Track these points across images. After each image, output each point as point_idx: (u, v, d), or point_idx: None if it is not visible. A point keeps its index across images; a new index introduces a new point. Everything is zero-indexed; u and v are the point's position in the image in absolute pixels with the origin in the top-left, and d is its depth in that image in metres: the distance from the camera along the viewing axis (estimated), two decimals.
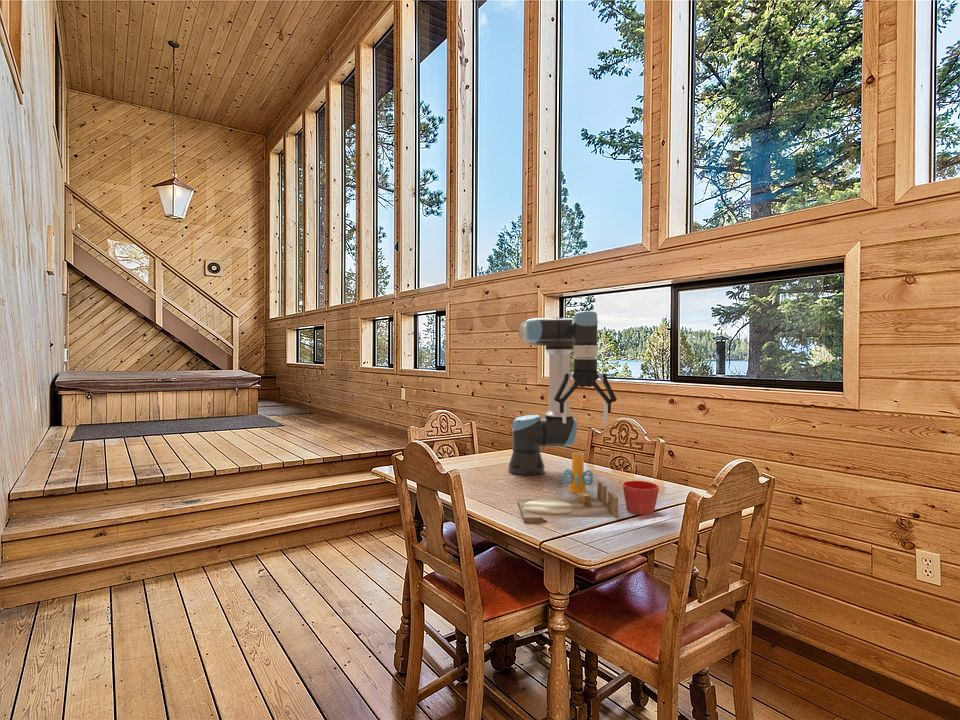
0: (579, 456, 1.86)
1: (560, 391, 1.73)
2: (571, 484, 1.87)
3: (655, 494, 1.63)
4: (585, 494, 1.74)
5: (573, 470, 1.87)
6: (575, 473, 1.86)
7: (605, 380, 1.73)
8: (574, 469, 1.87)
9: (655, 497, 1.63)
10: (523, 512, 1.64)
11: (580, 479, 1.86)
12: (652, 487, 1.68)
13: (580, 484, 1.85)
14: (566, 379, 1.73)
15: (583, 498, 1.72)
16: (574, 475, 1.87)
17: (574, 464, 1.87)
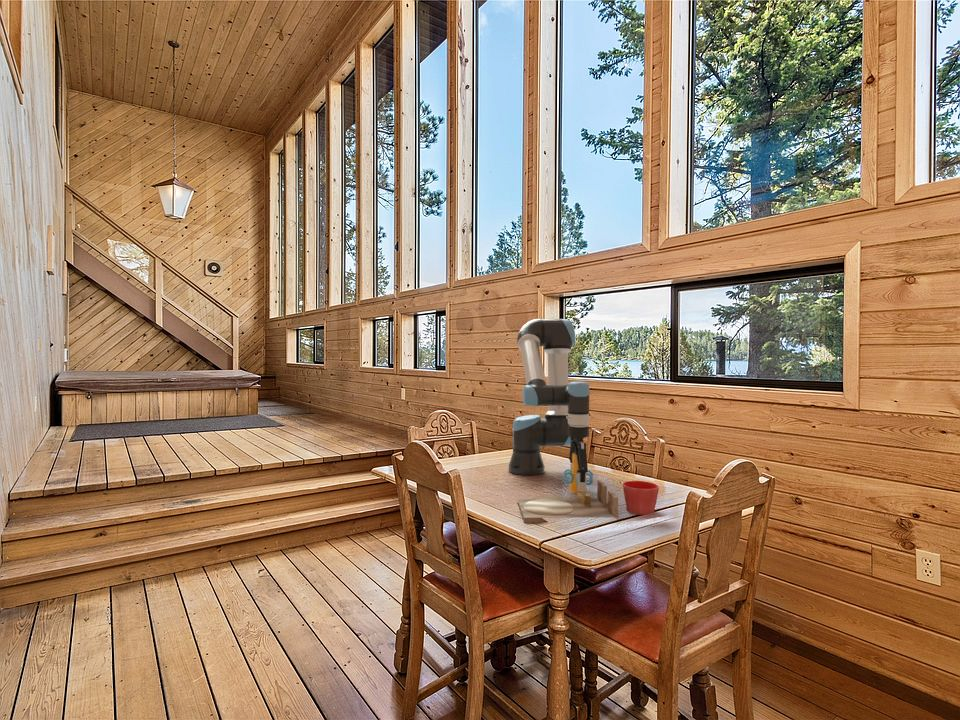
0: None
1: (570, 451, 1.96)
2: (571, 484, 1.87)
3: (655, 494, 1.63)
4: (585, 494, 1.74)
5: (573, 470, 1.87)
6: (575, 473, 1.86)
7: (578, 449, 1.81)
8: (574, 469, 1.86)
9: (655, 497, 1.63)
10: (523, 512, 1.64)
11: None
12: (652, 487, 1.68)
13: None
14: (571, 441, 1.94)
15: (583, 498, 1.72)
16: (574, 475, 1.87)
17: (574, 464, 1.87)
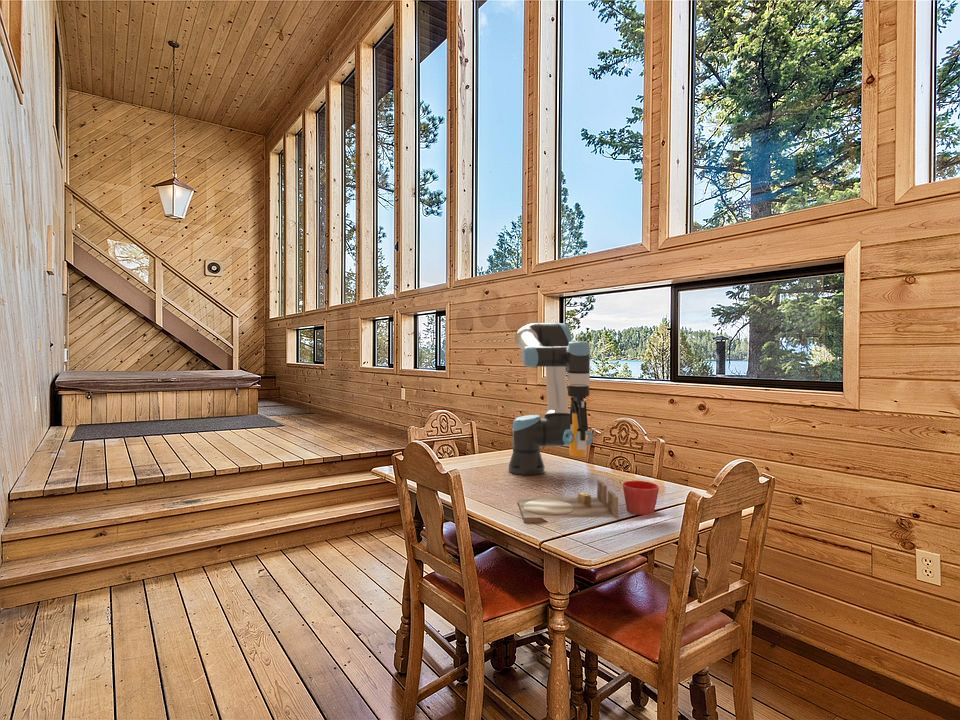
0: None
1: (570, 412, 1.95)
2: (571, 444, 1.87)
3: (655, 494, 1.63)
4: (585, 494, 1.74)
5: (573, 430, 1.87)
6: (575, 433, 1.86)
7: (578, 408, 1.81)
8: (574, 429, 1.86)
9: (655, 497, 1.63)
10: (523, 512, 1.64)
11: None
12: (652, 487, 1.68)
13: None
14: (571, 402, 1.94)
15: (583, 498, 1.72)
16: (574, 435, 1.86)
17: (574, 424, 1.86)
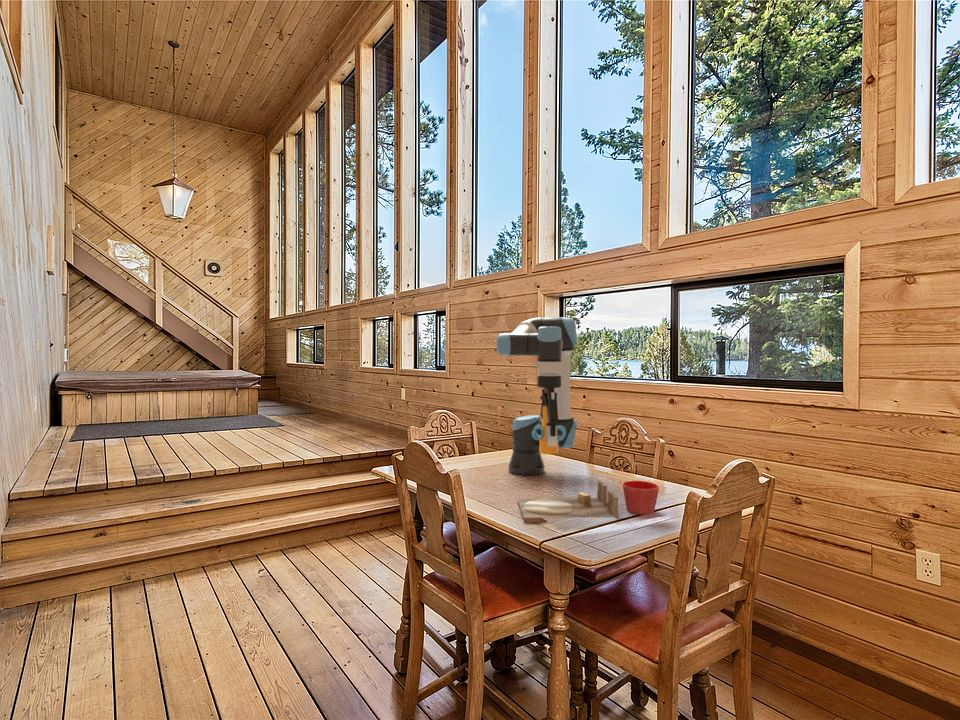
0: None
1: (541, 406, 1.77)
2: (541, 440, 1.68)
3: (655, 494, 1.63)
4: (585, 494, 1.74)
5: (544, 424, 1.68)
6: (546, 428, 1.67)
7: (548, 400, 1.62)
8: (545, 423, 1.68)
9: (655, 497, 1.63)
10: (523, 512, 1.64)
11: None
12: (652, 487, 1.68)
13: None
14: None
15: (583, 498, 1.72)
16: (545, 430, 1.68)
17: (545, 418, 1.68)
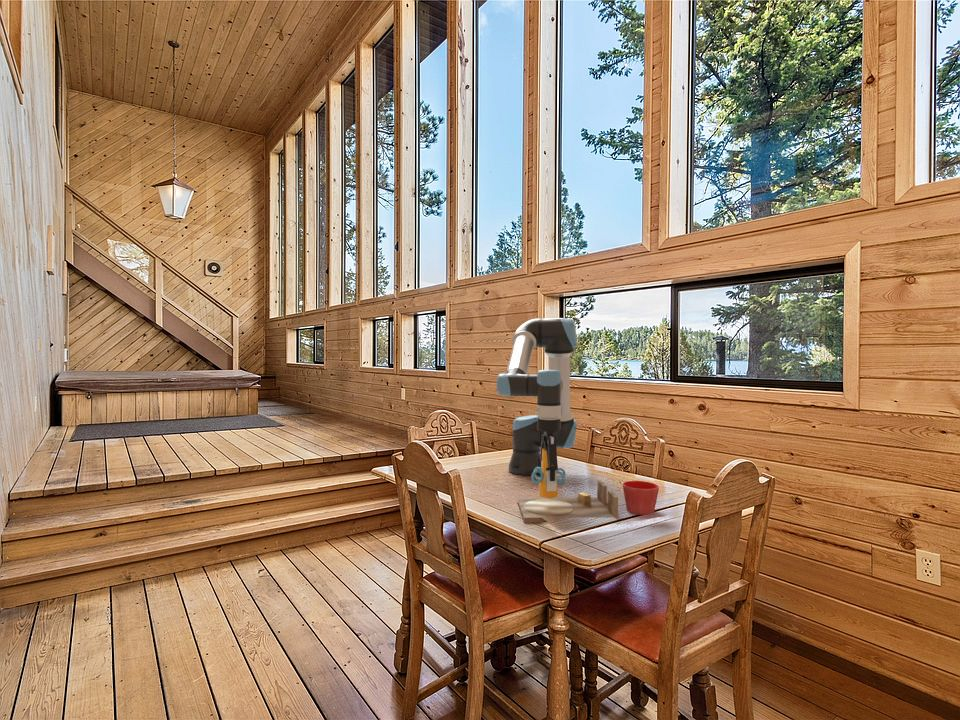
0: None
1: (541, 447, 1.77)
2: (541, 483, 1.68)
3: (655, 494, 1.63)
4: (585, 494, 1.74)
5: (543, 468, 1.68)
6: (545, 471, 1.68)
7: (548, 444, 1.63)
8: (544, 467, 1.68)
9: (655, 497, 1.63)
10: (523, 512, 1.64)
11: None
12: (652, 487, 1.68)
13: None
14: (541, 436, 1.75)
15: (583, 498, 1.72)
16: (544, 473, 1.68)
17: (544, 461, 1.68)
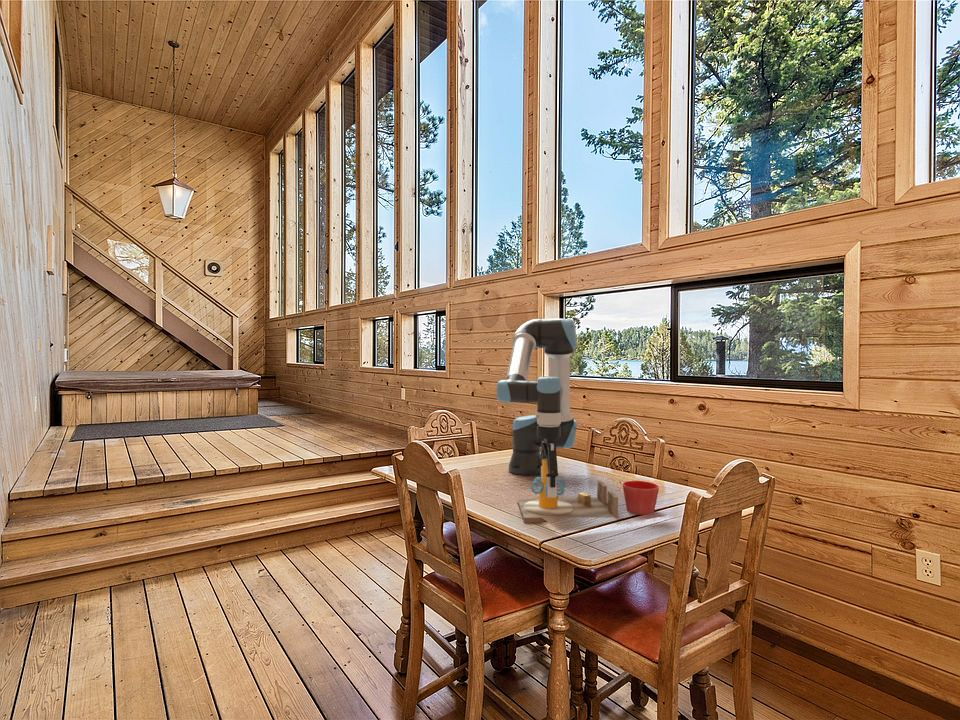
0: None
1: None
2: (541, 494, 1.69)
3: (655, 494, 1.63)
4: (585, 494, 1.74)
5: (543, 478, 1.69)
6: (545, 482, 1.68)
7: (548, 451, 1.63)
8: (544, 477, 1.68)
9: (655, 497, 1.63)
10: (523, 512, 1.64)
11: None
12: (652, 487, 1.68)
13: None
14: (541, 442, 1.75)
15: (583, 498, 1.72)
16: (544, 484, 1.69)
17: (544, 472, 1.68)
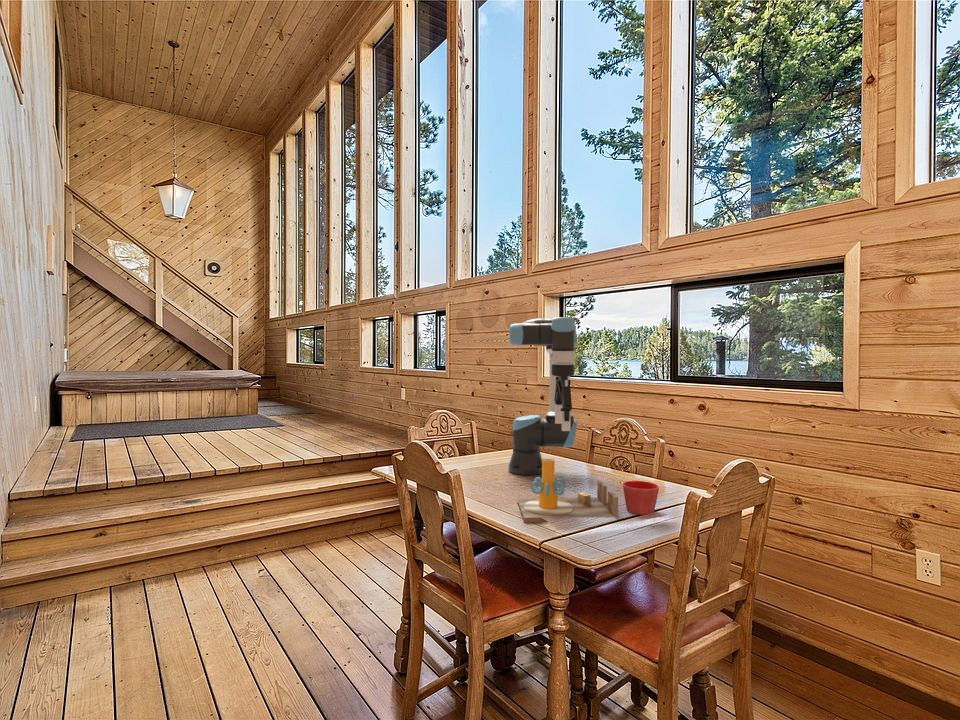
0: (549, 463, 1.68)
1: (555, 392, 1.85)
2: (541, 494, 1.69)
3: (655, 494, 1.63)
4: (585, 494, 1.74)
5: (543, 478, 1.69)
6: (545, 482, 1.68)
7: (562, 387, 1.70)
8: (544, 477, 1.68)
9: (655, 497, 1.63)
10: (523, 512, 1.64)
11: (550, 488, 1.68)
12: (652, 487, 1.68)
13: (550, 494, 1.67)
14: None
15: (583, 498, 1.72)
16: (544, 484, 1.69)
17: (544, 472, 1.68)
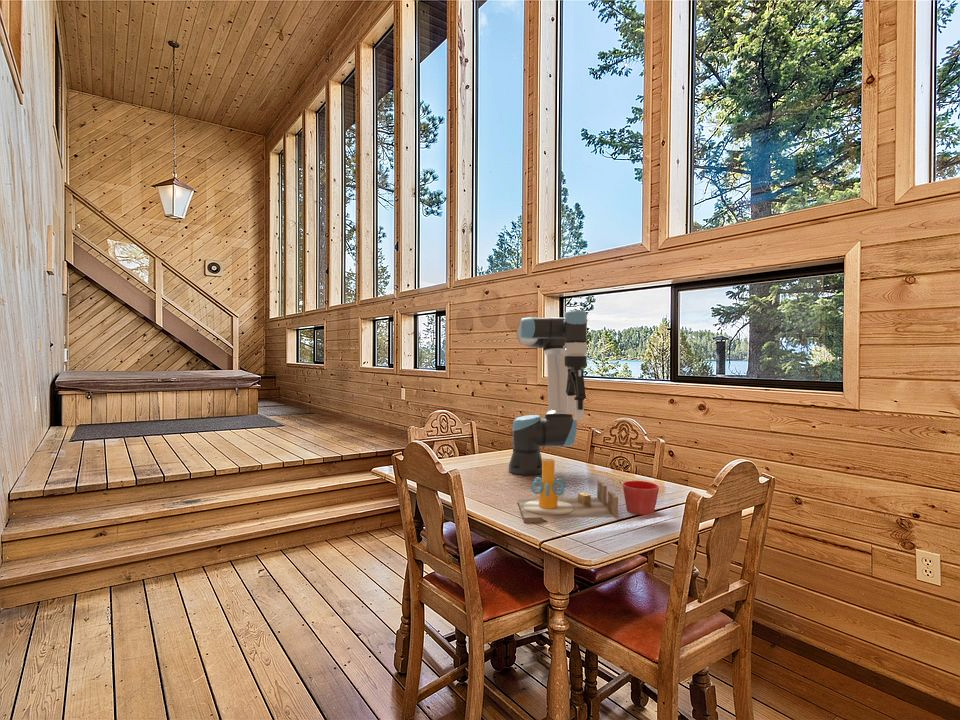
0: (549, 463, 1.68)
1: (567, 384, 1.91)
2: (541, 494, 1.69)
3: (655, 494, 1.63)
4: (585, 494, 1.74)
5: (543, 478, 1.69)
6: (545, 482, 1.68)
7: (575, 377, 1.76)
8: (544, 477, 1.68)
9: (655, 497, 1.63)
10: (523, 512, 1.64)
11: (550, 488, 1.68)
12: (652, 487, 1.68)
13: (550, 494, 1.67)
14: (568, 373, 1.89)
15: (583, 498, 1.72)
16: (544, 484, 1.69)
17: (544, 472, 1.68)
